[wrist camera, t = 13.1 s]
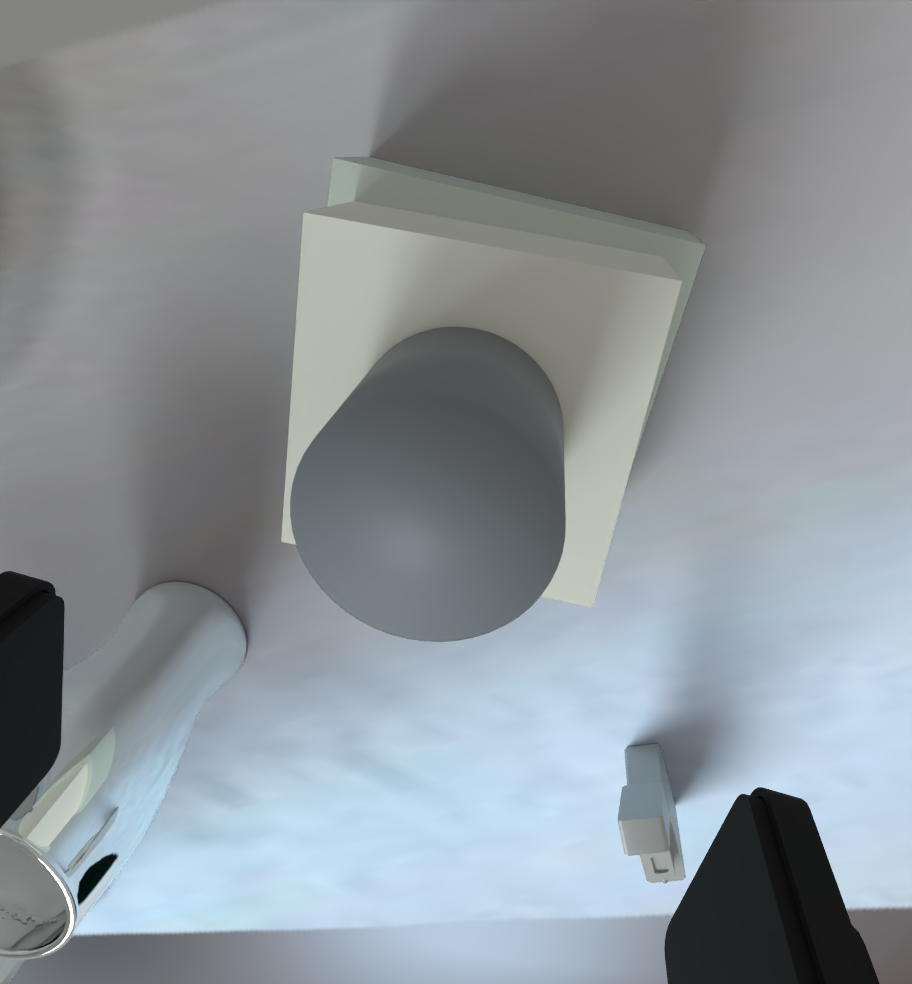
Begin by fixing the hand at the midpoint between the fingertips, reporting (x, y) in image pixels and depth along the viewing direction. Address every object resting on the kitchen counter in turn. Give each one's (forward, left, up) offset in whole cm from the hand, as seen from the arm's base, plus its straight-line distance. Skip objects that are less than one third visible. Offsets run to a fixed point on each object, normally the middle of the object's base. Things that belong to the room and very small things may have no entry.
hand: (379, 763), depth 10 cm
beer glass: (-18, +12, -23) cm, 31 cm away
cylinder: (0, +1, -13) cm, 13 cm away
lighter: (-17, -11, -23) cm, 31 cm away
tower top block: (0, +1, -18) cm, 18 cm away
